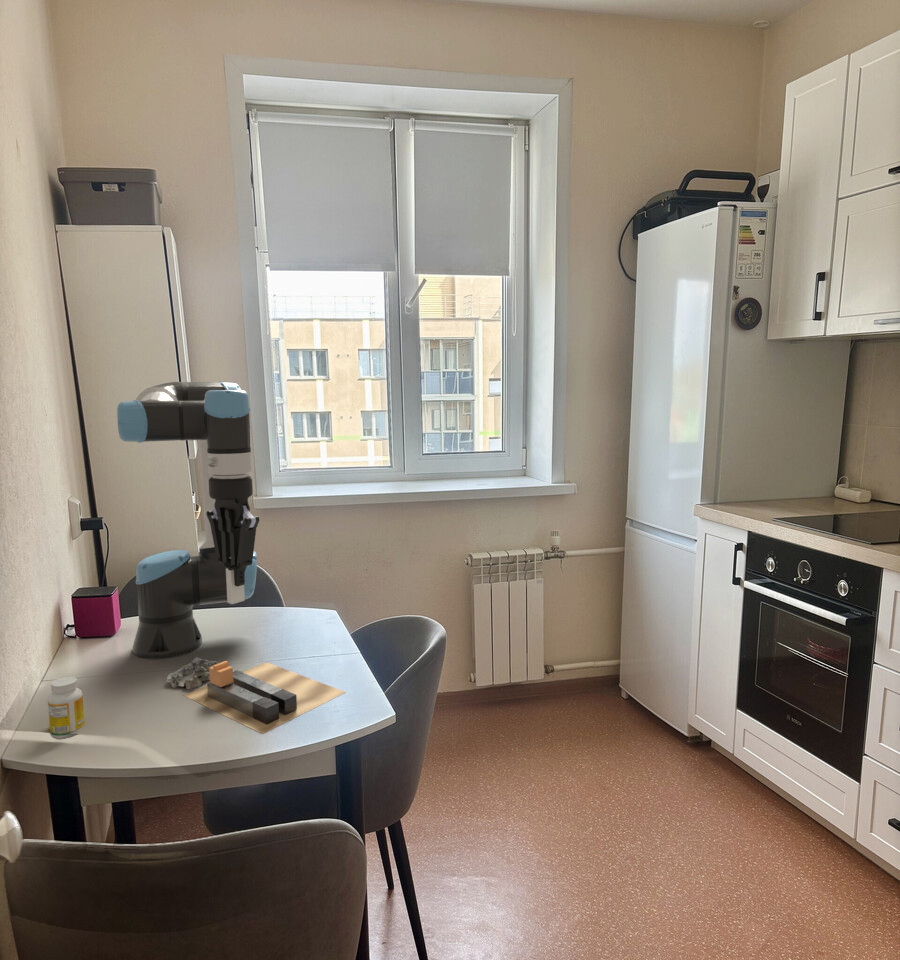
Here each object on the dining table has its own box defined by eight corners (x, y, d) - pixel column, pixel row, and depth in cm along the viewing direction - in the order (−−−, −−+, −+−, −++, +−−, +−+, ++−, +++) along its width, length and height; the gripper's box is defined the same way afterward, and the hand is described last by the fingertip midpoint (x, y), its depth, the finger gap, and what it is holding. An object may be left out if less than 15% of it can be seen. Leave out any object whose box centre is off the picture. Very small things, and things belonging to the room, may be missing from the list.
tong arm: (226, 688, 130) (226, 674, 129) (238, 683, 132) (237, 669, 132) (285, 715, 119) (284, 700, 118) (296, 709, 121) (296, 694, 120)
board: (183, 700, 127) (183, 695, 127) (266, 667, 143) (266, 662, 143) (262, 740, 112) (262, 733, 112) (346, 697, 128) (345, 692, 128)
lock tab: (209, 682, 125) (208, 663, 125) (222, 677, 127) (221, 659, 127) (220, 687, 123) (219, 668, 123) (233, 682, 125) (232, 663, 125)
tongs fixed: (198, 692, 128) (196, 671, 128) (219, 683, 132) (218, 663, 132) (266, 724, 115) (265, 701, 115) (288, 714, 119) (287, 691, 119)
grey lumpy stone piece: (194, 697, 129) (193, 678, 129) (163, 693, 132) (162, 674, 131) (227, 675, 139) (226, 657, 139) (197, 671, 142) (196, 653, 141)
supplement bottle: (56, 743, 112) (52, 690, 111) (45, 733, 115) (41, 682, 114) (90, 731, 116) (86, 680, 115) (78, 721, 119) (74, 672, 118)
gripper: (191, 475, 118) (197, 600, 121) (234, 480, 110) (240, 614, 113) (227, 471, 123) (232, 590, 127) (270, 476, 116) (275, 603, 119)
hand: (236, 601), depth 120 cm, fingers closed
